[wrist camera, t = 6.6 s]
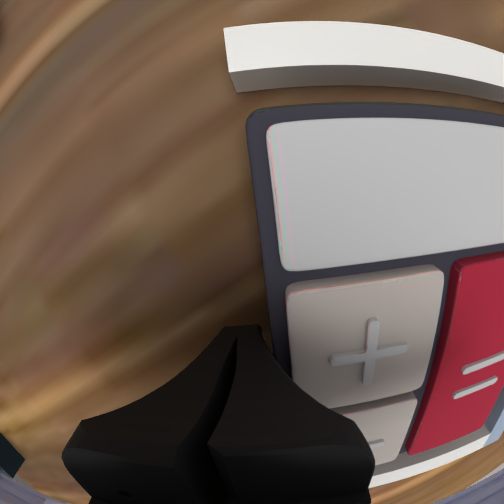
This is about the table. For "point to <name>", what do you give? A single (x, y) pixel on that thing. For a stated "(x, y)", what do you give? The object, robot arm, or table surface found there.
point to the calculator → (385, 262)
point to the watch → (9, 458)
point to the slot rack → (372, 74)
